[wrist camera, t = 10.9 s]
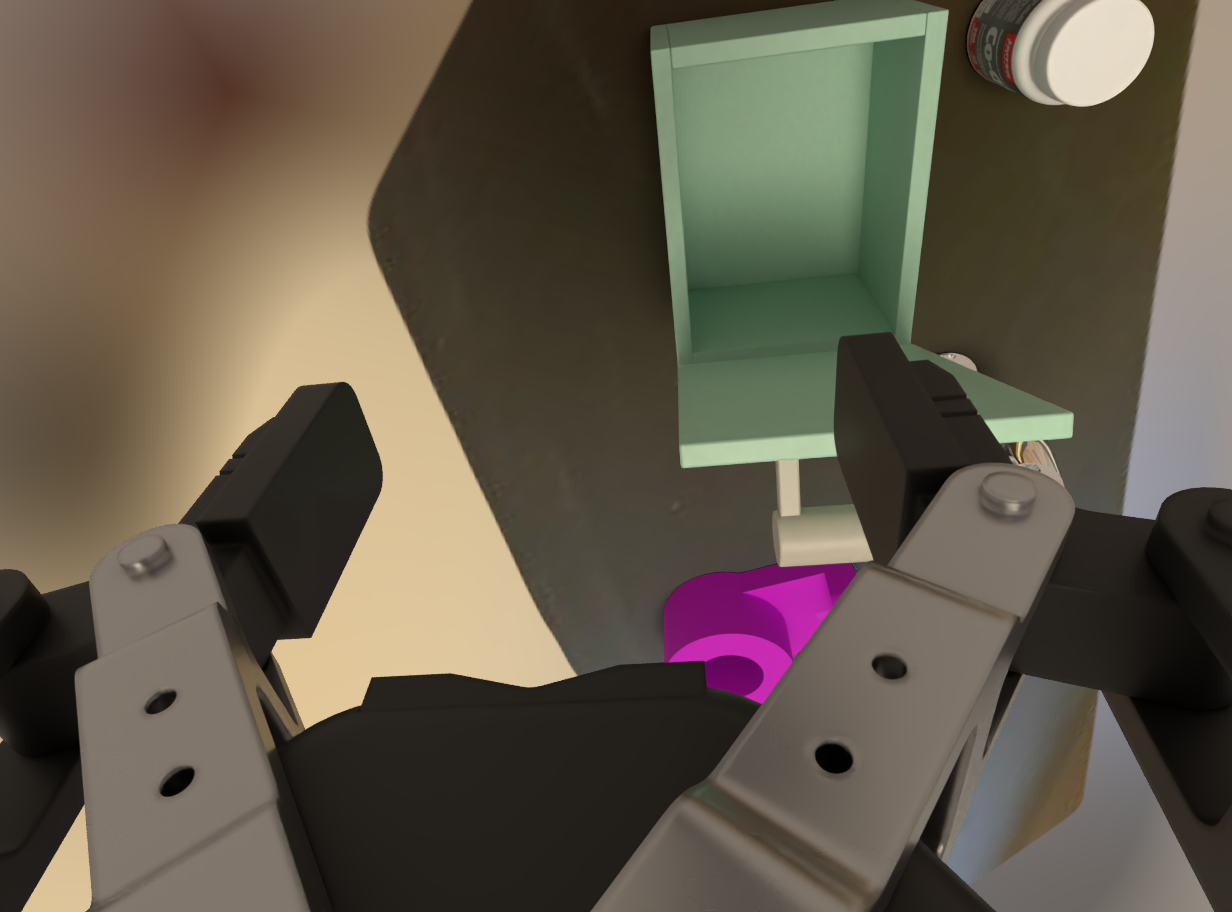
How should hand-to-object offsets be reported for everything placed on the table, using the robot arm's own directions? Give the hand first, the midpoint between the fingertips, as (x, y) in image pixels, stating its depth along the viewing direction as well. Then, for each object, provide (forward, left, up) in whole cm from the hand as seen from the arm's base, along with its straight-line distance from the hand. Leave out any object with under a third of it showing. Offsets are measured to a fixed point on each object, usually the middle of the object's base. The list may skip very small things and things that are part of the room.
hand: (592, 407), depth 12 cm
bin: (+5, +7, -32) cm, 33 cm away
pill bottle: (0, +19, -32) cm, 37 cm away
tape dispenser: (+40, +6, -32) cm, 52 cm away
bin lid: (+9, +7, -16) cm, 20 cm away
